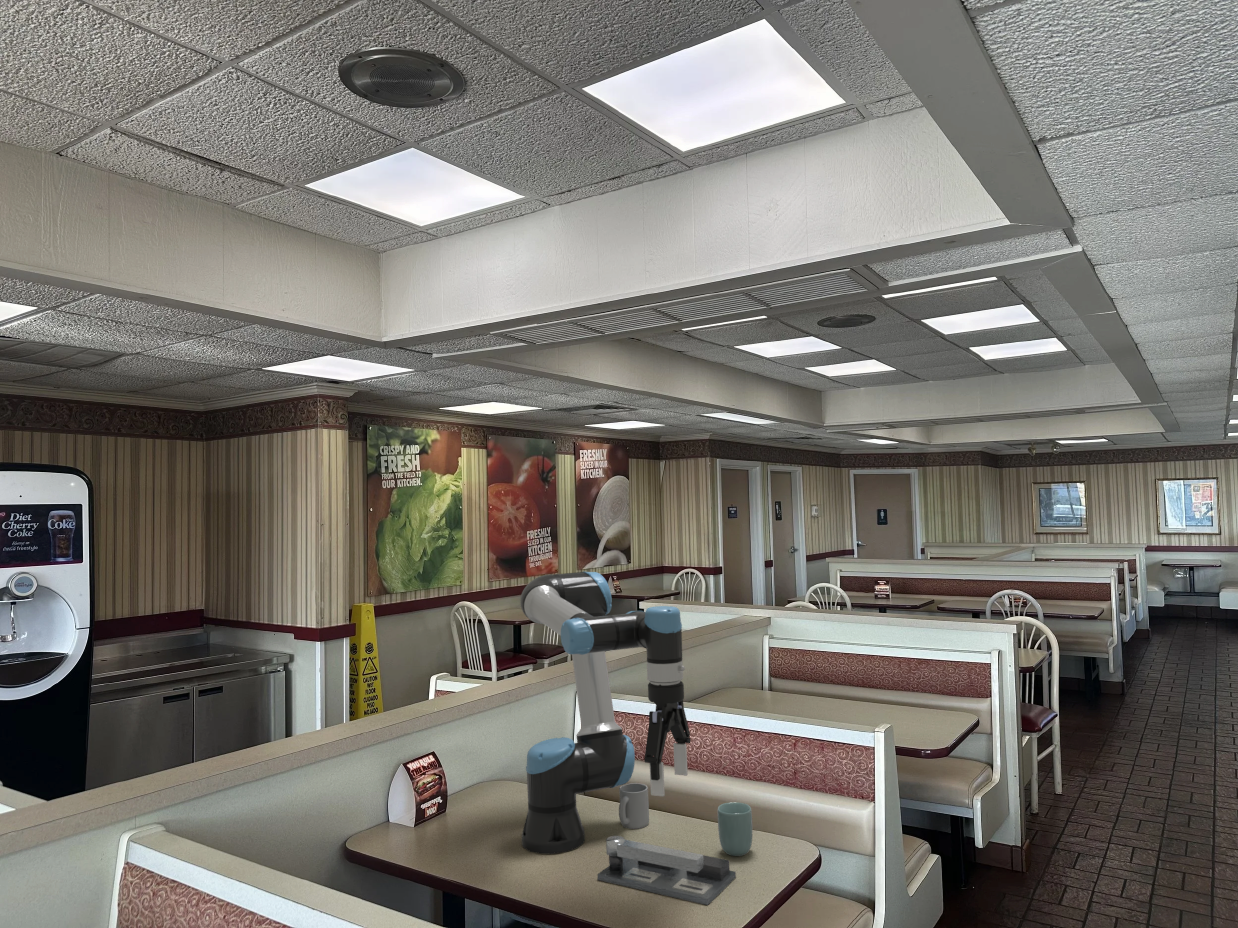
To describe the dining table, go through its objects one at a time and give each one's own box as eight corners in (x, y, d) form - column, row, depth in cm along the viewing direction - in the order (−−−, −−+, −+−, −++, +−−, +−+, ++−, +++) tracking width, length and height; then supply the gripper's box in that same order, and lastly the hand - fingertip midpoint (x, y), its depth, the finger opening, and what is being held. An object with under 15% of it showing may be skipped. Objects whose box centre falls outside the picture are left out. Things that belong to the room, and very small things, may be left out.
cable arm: (603, 853, 182) (602, 840, 182) (612, 847, 185) (612, 834, 185) (696, 873, 170) (695, 859, 170) (704, 866, 174) (704, 852, 174)
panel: (597, 879, 179) (596, 859, 180) (630, 855, 191) (629, 836, 192) (707, 905, 166) (706, 883, 166) (735, 877, 178) (734, 857, 178)
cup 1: (654, 821, 212) (653, 785, 212) (633, 835, 203) (631, 797, 204) (630, 816, 216) (629, 781, 216) (608, 829, 207) (607, 793, 208)
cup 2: (752, 860, 186) (750, 814, 187) (717, 858, 188) (715, 813, 188) (754, 846, 194) (752, 802, 194) (720, 844, 195) (718, 801, 196)
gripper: (660, 695, 162) (664, 806, 161) (701, 670, 185) (706, 768, 184) (625, 693, 165) (629, 802, 164) (670, 669, 188) (674, 765, 187)
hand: (669, 784), depth 174 cm, fingers open, 13 cm apart
